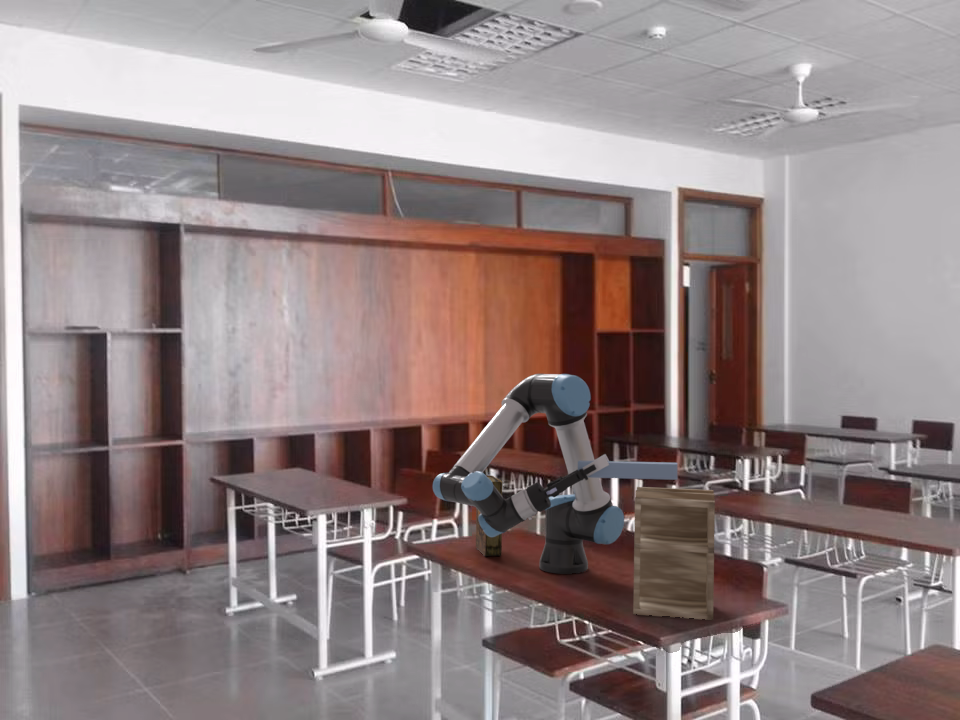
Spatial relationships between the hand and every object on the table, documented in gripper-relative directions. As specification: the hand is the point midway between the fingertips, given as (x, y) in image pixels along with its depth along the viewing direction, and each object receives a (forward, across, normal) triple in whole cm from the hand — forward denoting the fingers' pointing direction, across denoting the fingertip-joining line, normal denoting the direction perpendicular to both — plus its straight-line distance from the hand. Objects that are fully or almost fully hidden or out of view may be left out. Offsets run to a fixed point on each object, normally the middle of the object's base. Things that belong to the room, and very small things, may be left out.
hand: (607, 459), depth 239 cm
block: (+2, 0, -7) cm, 7 cm away
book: (-57, -56, -11) cm, 81 cm away
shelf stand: (-5, 0, -43) cm, 43 cm away
